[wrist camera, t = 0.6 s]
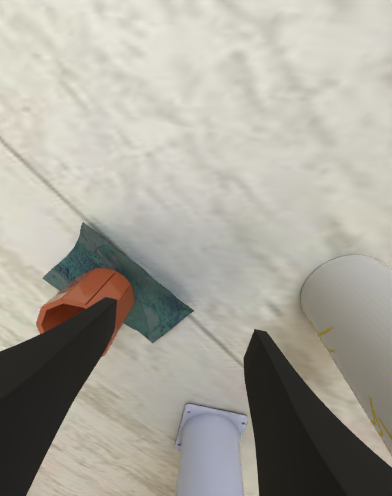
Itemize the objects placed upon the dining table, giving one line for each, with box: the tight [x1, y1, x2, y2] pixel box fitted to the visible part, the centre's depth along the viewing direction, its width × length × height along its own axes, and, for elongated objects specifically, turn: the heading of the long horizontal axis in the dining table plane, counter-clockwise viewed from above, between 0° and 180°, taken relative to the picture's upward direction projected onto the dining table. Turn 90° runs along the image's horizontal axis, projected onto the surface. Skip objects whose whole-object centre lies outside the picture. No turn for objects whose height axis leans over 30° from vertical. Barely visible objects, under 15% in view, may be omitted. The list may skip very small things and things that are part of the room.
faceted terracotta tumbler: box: [36, 268, 135, 357], centre depth 18 cm, size 5×6×5 cm
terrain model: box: [43, 222, 194, 343], centre depth 21 cm, size 13×8×2 cm, turn 49°
